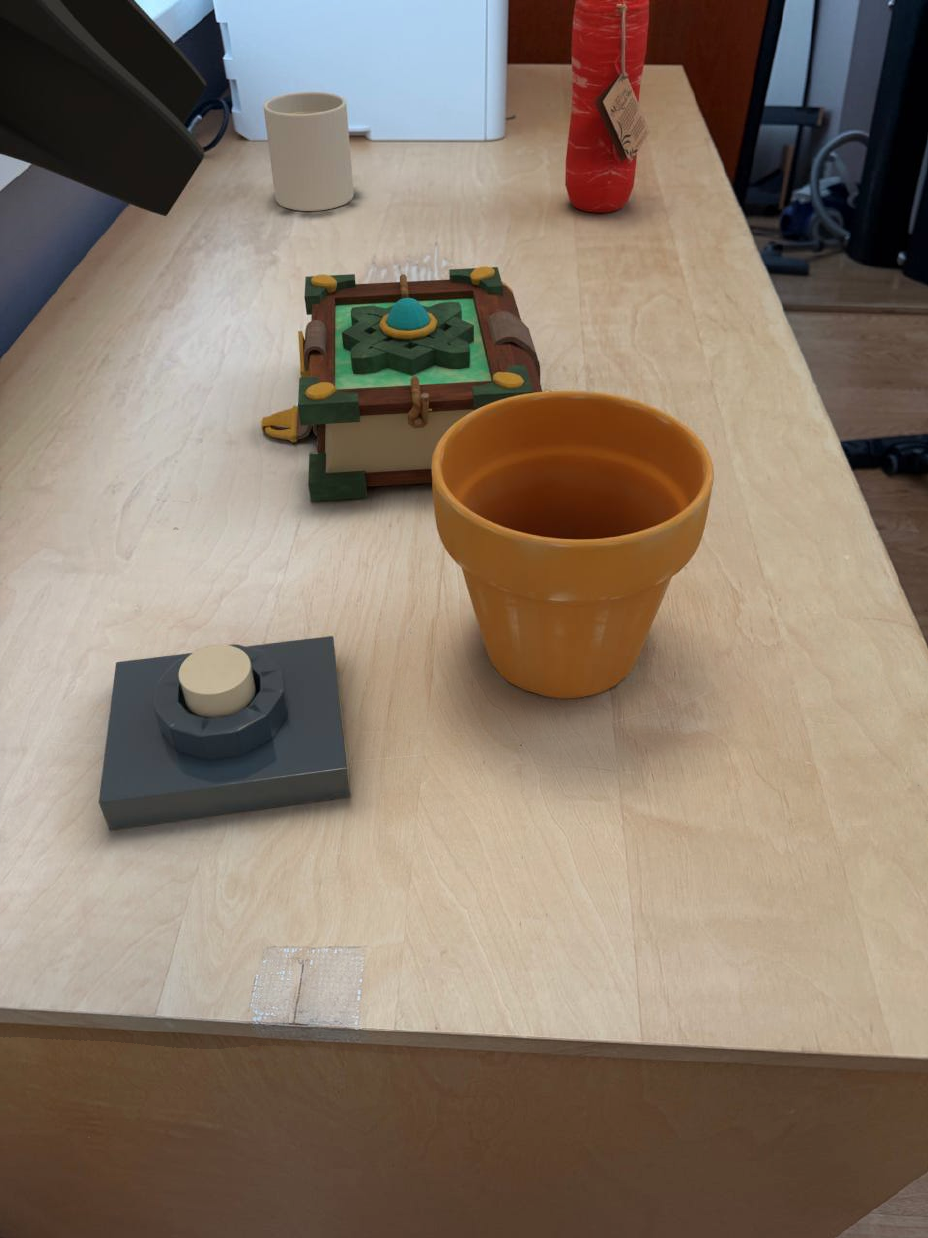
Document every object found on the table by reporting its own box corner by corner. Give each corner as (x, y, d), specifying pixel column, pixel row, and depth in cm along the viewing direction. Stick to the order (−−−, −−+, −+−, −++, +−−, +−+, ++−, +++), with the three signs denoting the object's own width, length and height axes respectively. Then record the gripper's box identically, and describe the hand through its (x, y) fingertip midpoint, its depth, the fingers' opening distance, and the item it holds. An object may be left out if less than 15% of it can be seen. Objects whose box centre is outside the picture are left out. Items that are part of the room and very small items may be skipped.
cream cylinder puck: (183, 723, 52) (176, 698, 51) (186, 673, 55) (179, 648, 53) (256, 713, 52) (251, 689, 51) (255, 664, 55) (250, 640, 54)
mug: (294, 217, 114) (282, 119, 107) (261, 191, 120) (248, 97, 113) (382, 198, 118) (376, 102, 111) (347, 174, 124) (339, 82, 117)
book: (272, 336, 92) (256, 222, 85) (509, 323, 93) (511, 210, 87) (254, 508, 72) (230, 378, 65) (555, 490, 73) (562, 359, 67)
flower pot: (441, 742, 55) (432, 548, 47) (437, 575, 66) (429, 392, 58) (705, 732, 56) (745, 537, 47) (658, 567, 66) (684, 384, 58)
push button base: (109, 831, 51) (88, 778, 49) (124, 689, 59) (107, 637, 56) (351, 797, 53) (344, 744, 50) (336, 663, 60) (330, 611, 58)
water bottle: (651, 227, 110) (681, -52, 93) (577, 232, 109) (593, -48, 93) (624, 188, 119) (646, -72, 102) (555, 192, 118) (566, -69, 102)
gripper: (-410, -453, 18) (271, 90, 25) (-170, -378, 28) (254, -17, 36) (-518, -67, 20) (120, 320, 27) (-262, -133, 31) (147, 156, 38)
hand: (188, 143), depth 32 cm, fingers open, 7 cm apart
